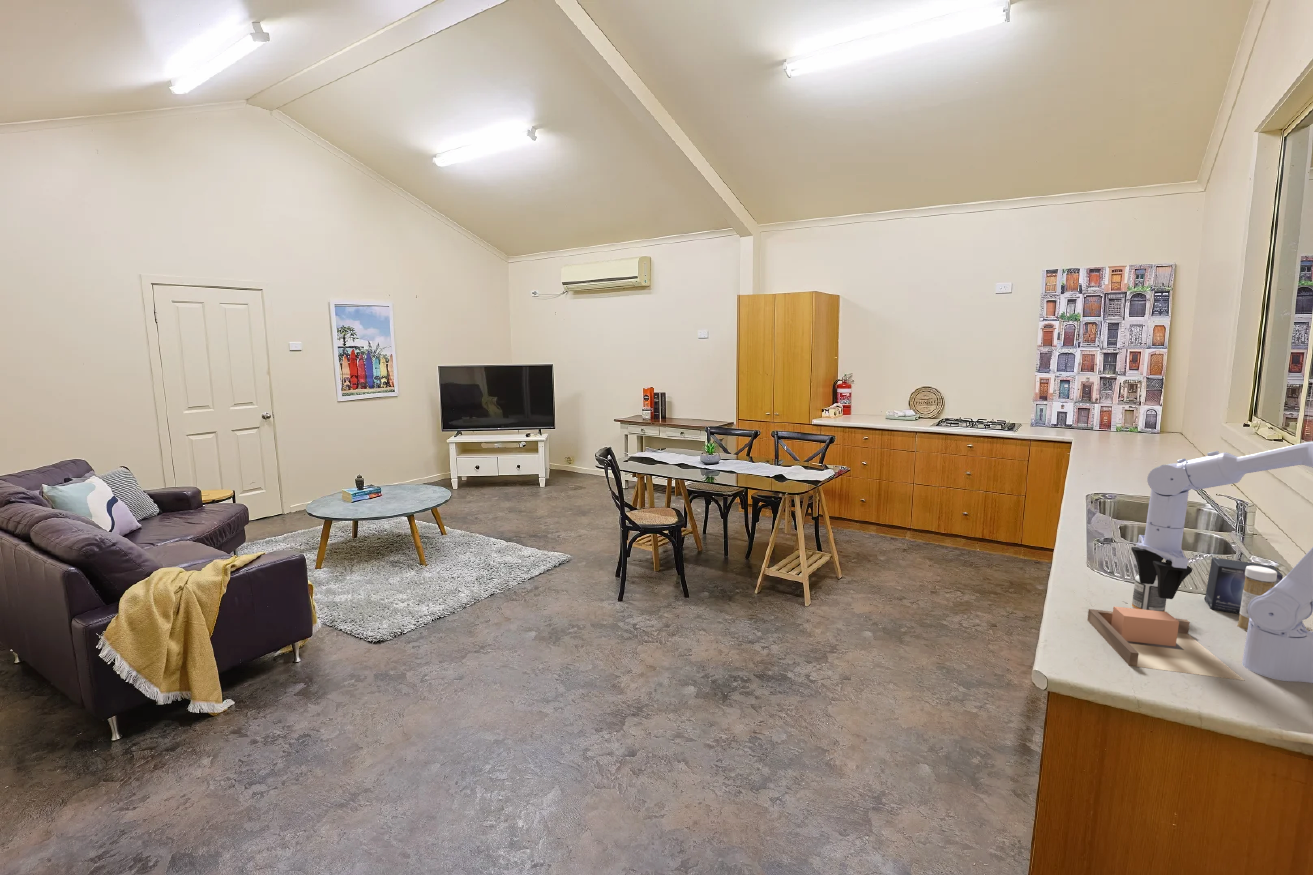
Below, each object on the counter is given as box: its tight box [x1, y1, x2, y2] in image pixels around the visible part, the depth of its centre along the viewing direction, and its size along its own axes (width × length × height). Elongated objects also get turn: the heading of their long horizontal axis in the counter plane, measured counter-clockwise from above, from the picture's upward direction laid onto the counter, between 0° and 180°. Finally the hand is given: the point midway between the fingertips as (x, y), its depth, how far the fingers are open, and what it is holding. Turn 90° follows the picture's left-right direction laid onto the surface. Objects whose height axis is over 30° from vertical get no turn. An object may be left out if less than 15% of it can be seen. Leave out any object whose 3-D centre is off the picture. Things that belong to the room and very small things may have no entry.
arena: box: [1087, 608, 1245, 681], centre depth 117 cm, size 17×19×4 cm
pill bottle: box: [1131, 574, 1167, 612], centre depth 134 cm, size 6×6×10 cm
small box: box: [1204, 556, 1284, 615], centre depth 136 cm, size 11×6×10 cm, turn 60°
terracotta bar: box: [1111, 606, 1179, 646], centre depth 120 cm, size 9×4×5 cm, turn 75°
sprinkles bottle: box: [1236, 566, 1277, 633], centre depth 125 cm, size 5×5×13 cm
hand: (1155, 590), depth 123 cm, fingers open, 7 cm apart
